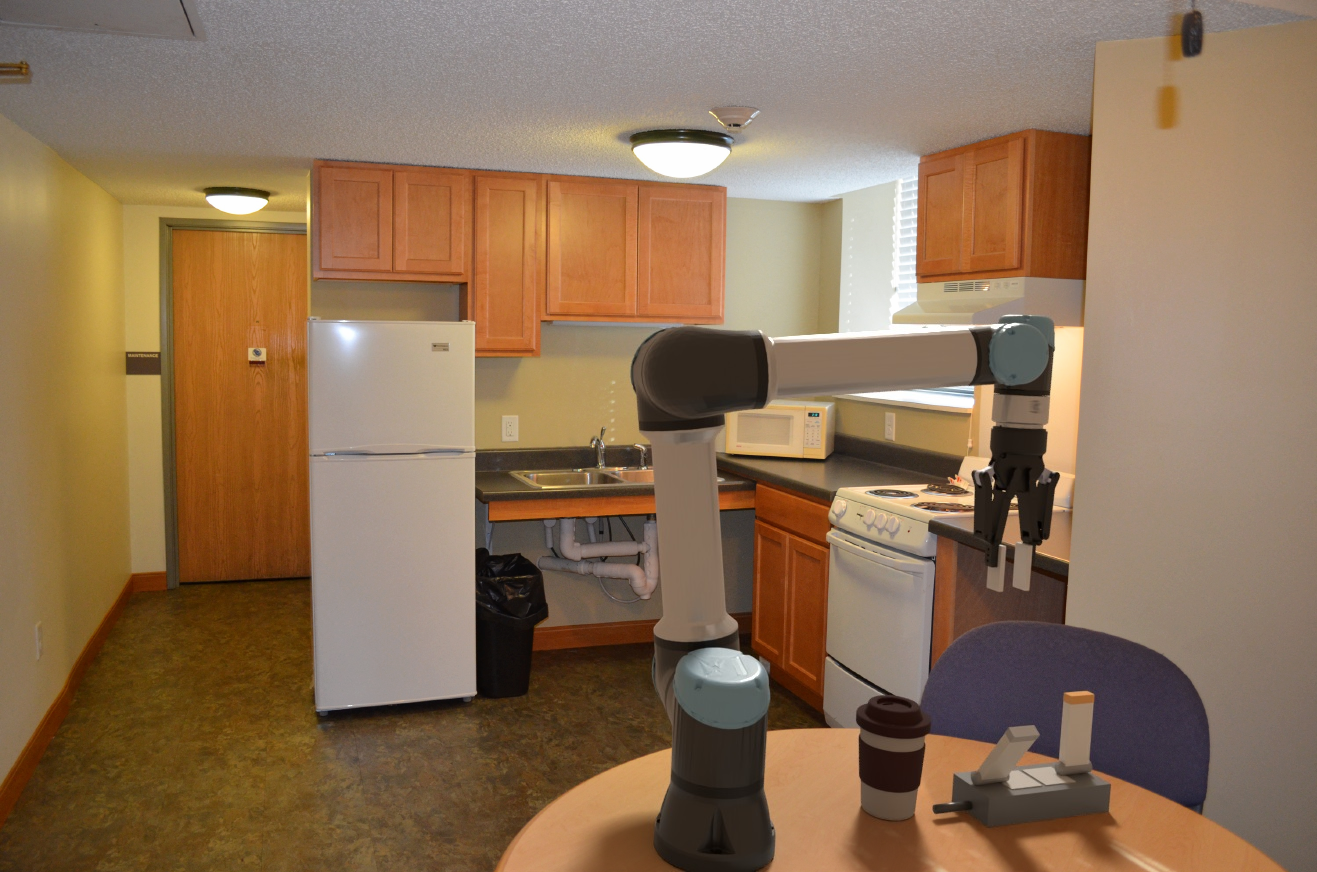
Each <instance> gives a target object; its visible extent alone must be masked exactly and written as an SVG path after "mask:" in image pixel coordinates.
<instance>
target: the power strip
mask: <svg viewBox="0 0 1317 872" xmlns="http://www.w3.org/2000/svg"><path fill="white" fill-rule="evenodd" d="M1056 762H1057V761H1053V762H1046V763H1044V762H1043V763H1037V764H1036V763H1035V764H1027V765H1025V764H1024V765H1016V766H1015V767H1014V768H1013V770H1012V771H1011V772H1010V773H1009V775H1010V778H1009V781H1006V782H998V783H989V784H980V785H974V784H973V783H972V781H971V772H972V771H973V770H969V771H962V772H961V771H959V772H954V773H953V776H952V777H953V778H952V790H951V791H952V793H951V802H946V803H945V802H944V803H937V804H933V805H932V806H931V807H932V808H931V809H932V813H934V815H941V814H948V813H955V812H963V811H965V812H967V814H969V815H971V816H972V817H973V818H974V819H975V820H976V821H978V822H979V823H981V824H982V825H983V826H985V827H986V828H993V827H1000V826H1009V825H1015V824H1016V825H1017V824H1023V823H1024V824H1025V823H1031V822H1040V821H1048V820H1049V821H1050V820H1056V819H1063V818H1071V817H1077V816H1087V815H1094V814H1102V813H1108V812H1109V811H1110V804H1111V803H1110V801H1111V789H1112V783H1110V782H1108V781H1107V780H1105V779H1104V778H1101V777H1100V776H1098V775H1096V774H1094V773H1092V771H1091V772H1086V773H1077V774H1068V775H1059V774H1057V773H1056V771H1055V763H1056Z"/></svg>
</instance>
